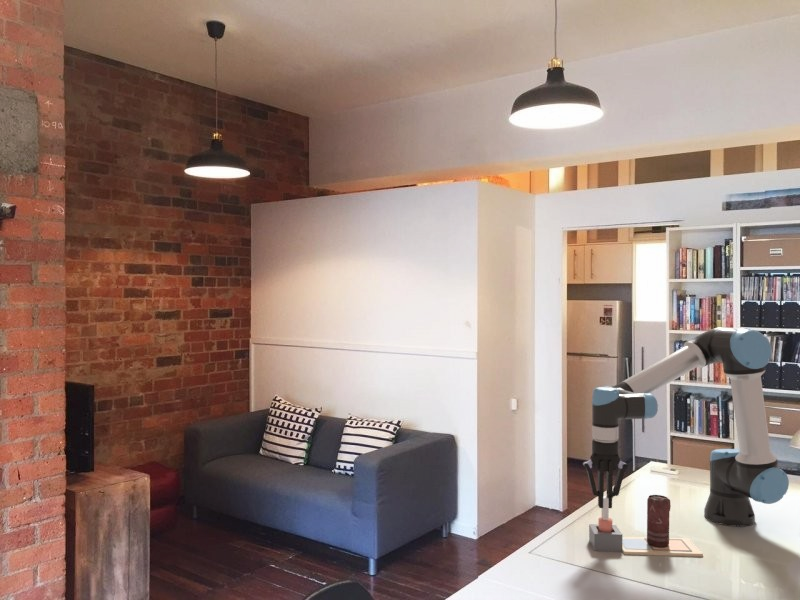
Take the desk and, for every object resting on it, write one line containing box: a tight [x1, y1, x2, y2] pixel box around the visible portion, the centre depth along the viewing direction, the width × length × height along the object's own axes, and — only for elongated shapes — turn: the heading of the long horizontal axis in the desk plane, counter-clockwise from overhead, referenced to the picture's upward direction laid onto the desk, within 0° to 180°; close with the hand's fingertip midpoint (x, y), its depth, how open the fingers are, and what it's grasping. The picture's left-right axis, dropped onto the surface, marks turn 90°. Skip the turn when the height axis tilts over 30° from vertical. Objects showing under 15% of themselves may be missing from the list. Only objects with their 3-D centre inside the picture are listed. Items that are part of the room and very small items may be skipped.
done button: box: [597, 516, 613, 532], centre depth 199 cm, size 4×4×4 cm
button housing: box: [588, 523, 623, 553], centre depth 199 cm, size 8×8×5 cm
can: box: [646, 494, 671, 548], centre depth 197 cm, size 6×6×14 cm
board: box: [622, 536, 704, 558], centre depth 197 cm, size 22×12×1 cm, turn 85°
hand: (605, 518), depth 199 cm, fingers closed
